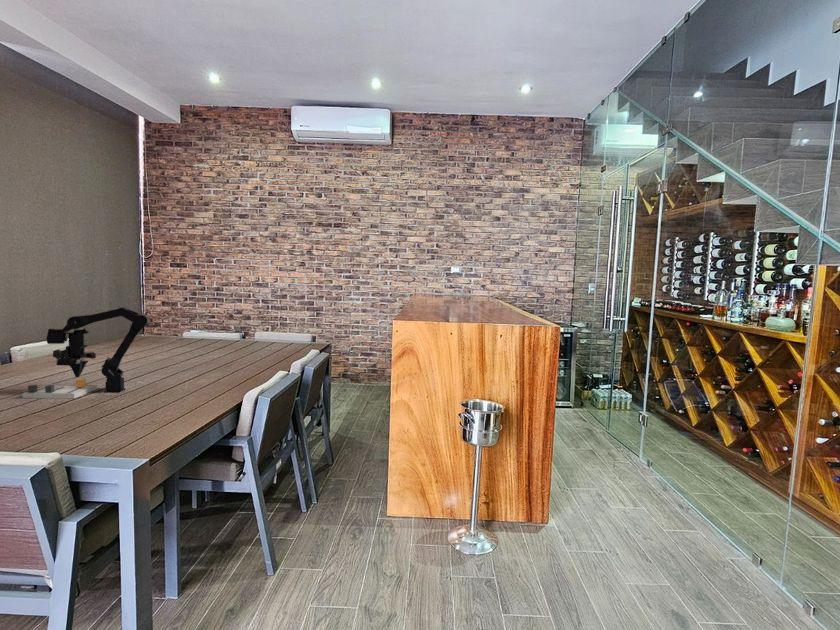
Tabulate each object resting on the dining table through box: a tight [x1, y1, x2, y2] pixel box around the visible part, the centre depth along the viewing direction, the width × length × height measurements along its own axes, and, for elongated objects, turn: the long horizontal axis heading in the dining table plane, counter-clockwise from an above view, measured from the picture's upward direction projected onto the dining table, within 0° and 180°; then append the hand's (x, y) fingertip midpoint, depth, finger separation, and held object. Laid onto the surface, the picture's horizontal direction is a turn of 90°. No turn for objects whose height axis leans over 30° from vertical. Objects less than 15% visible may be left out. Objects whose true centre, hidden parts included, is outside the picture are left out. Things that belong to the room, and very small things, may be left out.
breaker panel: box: [22, 383, 98, 399], centre depth 209 cm, size 21×17×5 cm
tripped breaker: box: [75, 378, 87, 388], centre depth 211 cm, size 3×2×4 cm, turn 96°
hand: (77, 377), depth 209 cm, fingers closed
